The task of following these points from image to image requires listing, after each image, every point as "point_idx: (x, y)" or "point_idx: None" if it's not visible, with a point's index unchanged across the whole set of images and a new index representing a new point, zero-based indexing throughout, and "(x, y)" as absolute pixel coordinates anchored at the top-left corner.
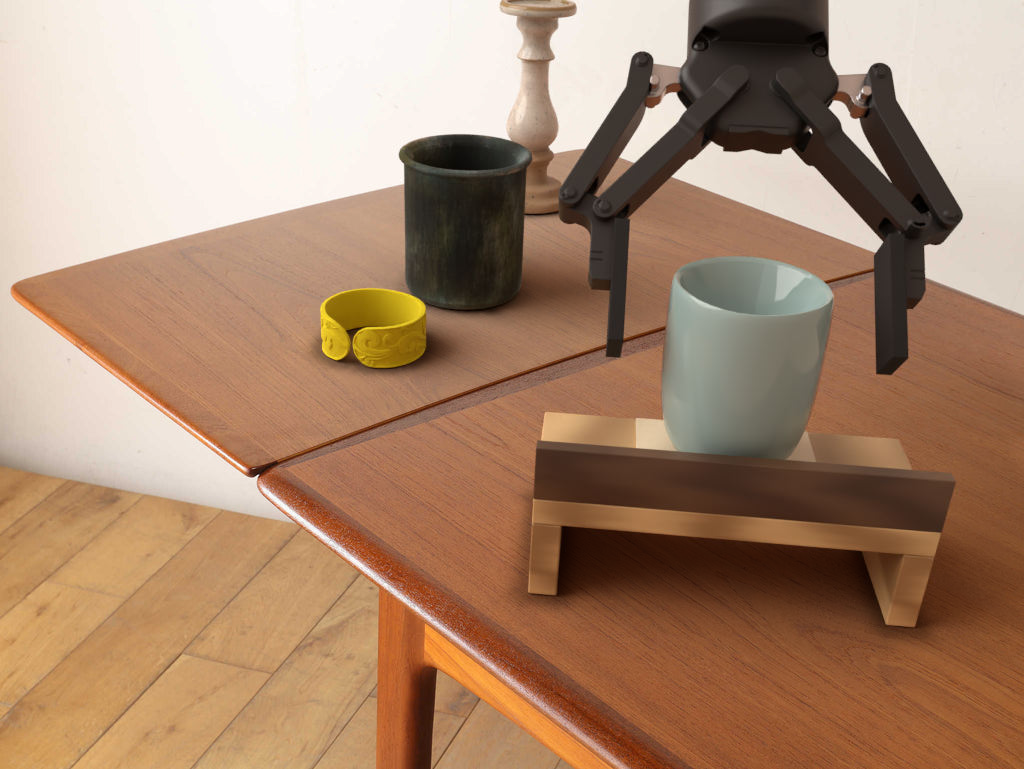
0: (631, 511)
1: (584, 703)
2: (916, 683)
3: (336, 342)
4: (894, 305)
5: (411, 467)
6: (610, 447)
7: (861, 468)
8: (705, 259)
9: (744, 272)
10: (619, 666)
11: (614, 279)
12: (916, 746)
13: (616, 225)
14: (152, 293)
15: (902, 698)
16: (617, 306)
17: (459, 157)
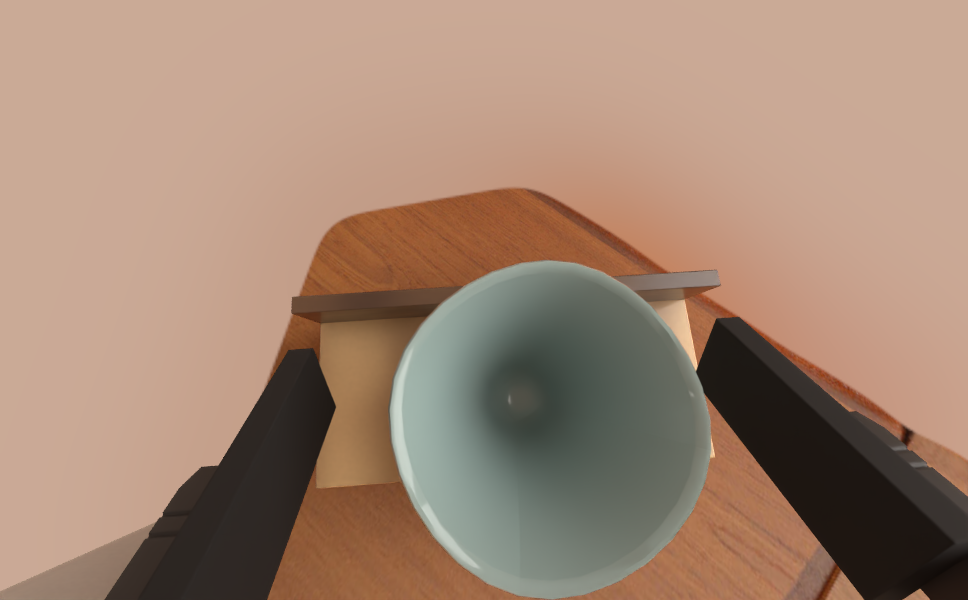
0: None
1: (578, 215)
2: (370, 270)
3: None
4: (270, 418)
5: None
6: (644, 286)
7: (385, 302)
8: (659, 548)
9: (558, 554)
10: (562, 248)
11: (818, 390)
12: (383, 218)
13: (962, 516)
14: None
15: (383, 255)
16: (767, 353)
17: None
